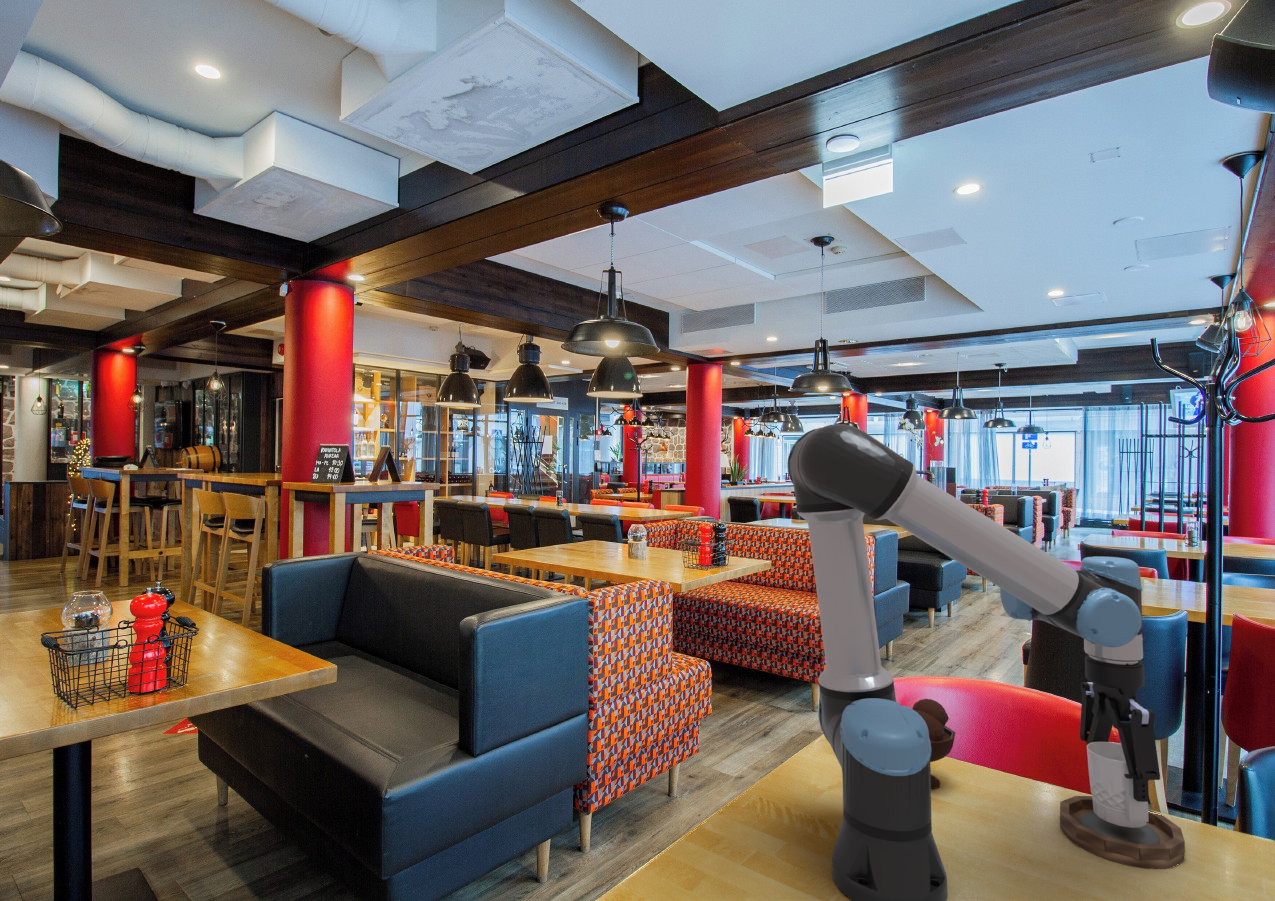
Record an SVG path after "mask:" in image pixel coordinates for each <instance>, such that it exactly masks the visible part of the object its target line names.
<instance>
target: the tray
mask: <svg viewBox="0 0 1275 901" xmlns="http://www.w3.org/2000/svg"><path fill="white" fill-rule="evenodd" d="M1059 806H1060V807H1059V828H1060V830H1061V832H1062V834H1064V836H1065V838H1067V839H1068V840H1069V841H1071V842H1072V843H1073V844H1075V845H1076V846H1078V847H1080V848H1081V849H1083V850H1084V851H1087V852H1089V853H1091V854H1093V855H1095V856H1097V857H1100V858H1102V859H1105V860H1108V861H1111V862H1114V863H1118V864H1122V865H1126V866H1129V867H1136V868H1141V869H1151V868H1153V869H1154V870H1156V869H1157V870H1162V868H1164V869H1170V868H1169V867H1171V868H1174V867H1173V866H1175V867H1177V866H1178V865H1177V864H1179V865H1181V864H1182V863H1183V862H1184V861H1185V858H1184V856H1185V853H1186V841H1185V838H1184V834H1183V830H1182V828H1181V827H1180V826H1179V825H1177V824H1176V823H1174V822H1173V821H1172V820H1170V819H1168V818H1167V817H1166V816H1165V815H1163V814H1161V815H1158V814H1160V813H1159V812H1156V811H1154V810H1151V809H1149V808H1148V811H1150V812H1154V813H1158V814H1153V813H1150V812H1148V817H1149V822H1146V825H1145V826H1143V827H1140V828H1129V827H1123V826H1118V825H1115V824H1112V823H1109V822H1107V821H1105V820H1103V819H1101V818H1099V817H1098V816H1097V815H1096V814H1095V813H1094V811H1093V799H1092V795H1074V796H1072V797H1068V798H1067V799H1063V800H1062V801H1060V805H1059ZM1162 815H1163V816H1162ZM1185 857H1186V856H1185ZM1183 860H1184V861H1183ZM1182 861H1183V862H1182ZM1181 862H1182V863H1181ZM1180 863H1181V864H1180ZM1176 865H1177V866H1176ZM1158 868H1160V869H1158ZM1153 869H1152V870H1153Z"/></svg>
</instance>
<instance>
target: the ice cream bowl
mask: <svg viewBox="0 0 1275 901" xmlns="http://www.w3.org/2000/svg"><path fill="white" fill-rule="evenodd" d="M911 709H913V710H914V711H916V712H917V713H918V714H919V715H920V716H921V717H922V718H923V719H924V721H925V722H926V724H927V727H928V731H929V738H930V742H931V744H930V745H931V756H930V763H934V762H937V761H940V760H942V759H944V758H945V757H947V756H948V755H949V754H950V753H951V751H952V749H953V748H954V747H953V746H954V742H955V735H956V732H955V731H954V730H953V729H951V728H949V727H948V726H946V724H947V723H948V721H949V719H950V717H949V716H948V713H947V711H946V709H945V708H944V707H943V705H942V704H941V703H939V702H938V701H937V700H934V699H932V698H923V699H920V700H918V701H916V702H914V704H913V706H912V707H911ZM939 788H941V781H940V780H939V779H938V778H937V777H935V776H934V775H932V774H931V791H932V790H936V789H939Z"/></svg>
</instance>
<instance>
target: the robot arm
mask: <svg viewBox="0 0 1275 901" xmlns="http://www.w3.org/2000/svg"><path fill="white" fill-rule="evenodd" d="M787 473H788V474H787V475H788V476H789V480H790V481H791V483H792V485H793V489H794V497H795V506H796V513H797V514H798V515H799V516H800V517H801V518H802V519H803V520H805V521H806V522H807V525H808V526H807V527H808V533H809V534H808V535H809V541H810V542H809V543H810V549H811V557H812V565H813V571H814V572H813V574H814V580H815V581H814V582H815V588H816V589H815V590H816V596H817V597H816V598H817V605H818V613H819V619H820V620H819V621H820V626H821V635H822V644H823V652H824V653H823V654H824V658H825V659H824V660H825V666H826V667H825V668H824V670H823V671H822V672H821V673H820V675H819V676H818V688H819V703H818V710H817V711H818V712H817V713H818V714H817V715H818V722H819V726H820V729H821V732H822V733H823V735H824V737H825V740H826V741H828V743H829V745H830V747H831V749H832V751H833V753H834V755H835V757H836V759H837V762H838V764H839V766H840V767H841V776H842V808H843V811H842V813H843V815H842V817H843V818H842V821H841V826H840V827H839V830H838V834H837V838H836V840H835V844H834V845H833V846H834V847H833V850H832V853H831V875H832V877H831V878H832V879H833V883H834V884H835V886H836V887H837V888H838V889H839V890H840V891H841V893H843V894H844V896H846V898H848V899H850V900H851V901H947V899H948V878H947V877H948V876H947V873H946V869H945V866H944V864H943V861H942V858H941V855H940V852H939V849H938V846H937V844H936V840H935V837H934V835H933V832H932V831H933V830H932V829H933V828H932V827H933V826H932V790H931V775H932V774H931V772H932V770H931V762H930V756H931V745H930V744H931V742H930V738H929V731H928V727H927V724H926V722H925V721H924V719H923V718H922V717H921V716H920V715H919V714H918V713H917V712H916V711H914V710H913V709H912V707H910V706H908V705H902V704H901V702H899V701H897V697H896V691H895V690H896V689H895V688H896V687H895V682H894V677H893V674H891V672H889V671H888V670H887V669H886V668H884V667H883V666H882V660H881V652H880V644H879V638H878V629H877V620H876V613H875V604H874V598H873V590H872V582H871V573H870V567H869V566H870V565H869V558H868V552H867V543H866V534H865V527H864V516H865V515H867V516H868V517H870V518H872V519H873V520H874V521H882V520H888V521H889V522H891V523H893V524H895V525H896V526H898V527H900V528H901V529H902V530H904V531H906V532H908V533H910V534H911V535H913V536H914V537H916V538H918V539H919V540H921V541H922V542H924V543H926V544H928V545H929V546H930V547H932V548H934V549H936V550H938V551H939V552H940V553H942V554H944V555H945V556H947V557H949V558H951V559H952V560H954V561H955V562H956V563H959V564H961V565H962V566H964V567H965V568H967V569H968V570H970V571H972V572H974V573H975V574H977V575H979V576H980V577H981V578H984V579H985V580H987V582H990V583H991V584H994V585H995V586H996V587H998V588H999V594H1000V595H999V596H1000V600H1001V605H1002V607H1003V609H1004V611H1005V613H1006V615H1008V616H1009V618H1012V619H1014V620H1025V621H1028V622H1031V621H1034V620H1035V621H1043V622H1046V623H1048V624H1051V625H1052V626H1054V627H1057V628H1058V629H1059V628H1060V629H1062V630H1065V631H1067V632H1069V633H1072V634H1073V635H1075V636H1078V637H1080V638H1082V639H1083V651H1084V652H1085V654H1087V655H1086V656H1085V657H1084V670H1085V672H1084V676H1085V678H1086V679H1087V680H1088V681H1083V682H1080V690H1081V707H1080V708H1081V709H1080V723H1079V725H1080V726H1079V738H1080V741H1082V742H1085V743H1086V746H1087V745H1088V744H1089V743H1092V742H1110V741H1109V740H1110V736H1111V733H1112V729H1113V728H1115V729H1116V730H1117V734H1118V737H1119V740H1120V744H1121V745H1122V749H1123V753H1124V756H1125V760H1126V764H1127V768H1128V772H1129V774H1124V776H1125V795H1126V819H1127V820H1129V821H1132V822H1149V817H1148V809H1149V799H1150V797H1149V796H1150V795H1149V790H1150V789H1149V790H1148V781H1159V780H1161V772H1160V766H1159V758H1158V750H1157V742H1156V737H1155V736H1156V735H1155V731H1154V730H1155V729H1154V722H1155V712H1154V710H1153V709H1151V708H1147V709H1146V708H1144V707H1143V706H1141V705H1140V701H1139V698H1138V695H1137V694H1138V693H1137V692H1138V691H1139V689H1142V688H1143V687H1144V686H1145V664H1144V663H1143V662H1142V661H1141V660H1143V658H1144V649H1143V646H1144V645H1143V641H1144V638H1143V609H1142V608H1143V607H1142V605H1143V603H1142V601H1143V600H1142V592H1143V587H1142V581H1141V578H1142V577H1141V573H1140V567H1139V565H1138V563H1137V562H1135V561H1134V560H1131V559H1129V558H1125V557H1117V556H1087V557H1084V558H1083V559H1082V560H1081V565H1080V568H1079V570H1075V569H1074V568H1072V567H1070V565H1067V564H1066V563H1065V562H1063V561H1061V560H1059V559H1058V558H1056V557H1055V556H1053V555H1051V554H1049V553H1048V552H1046V551H1045V550H1043V549H1041V548H1039V547H1037V546H1036V545H1034V544H1033V543H1031V542H1029V541H1028V540H1026V539H1024V538H1023V537H1021V536H1019V535H1018V534H1017V533H1015V532H1013V531H1011V530H1009V529H1008V528H1007V527H1005V526H1003V525H1001V524H1000V523H998V522H996V521H995V520H993V519H991V518H990V517H988V516H987V515H985V514H984V513H982V512H980V511H978V510H977V509H975V508H973V507H971V506H970V505H968V504H967V503H965V502H963V501H961V500H960V499H959V498H957V497H955V496H953V495H952V494H950V493H948V492H947V491H945V490H944V489H942V488H940V487H938V486H936V485H935V484H934V483H932V482H930V481H928V480H927V479H925V478H924V477H922V476H920V475H919V474H918V473H917V470H916V465H915V464H914V463H913V462H911V461H910V460H908V459H906V458H905V457H903V456H902V455H900V454H898V453H897V452H895V451H894V450H893V449H891V448H889V447H888V446H886V445H885V444H883V443H882V442H881V441H879V440H878V439H876V438H875V437H873V436H872V435H870V434H868V432H865V431H863V430H861V429H860V428H858V427H856V426H853V425H849V424H844V423H834V424H829V425H825V426H823V427H818V428H813V429H811V430H808V431H807V432H805V433H804V434H802V435H801V436H799V438H797V439H796V441H795V442H794V443H793V445H792V447H791V449H790V451H789V454H788V457H787ZM1136 768H1137V770H1136Z"/></svg>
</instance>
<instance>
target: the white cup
mask: <svg viewBox="0 0 1275 901" xmlns="http://www.w3.org/2000/svg"><path fill="white" fill-rule="evenodd" d="M1086 752H1087V754H1086V756H1087V766H1088V776H1089V786H1090V793H1091V796H1092V799H1093V811H1094V813H1095V814H1096V815H1097V816H1098V817H1099V818H1101V819H1103V820H1105V821H1107V822H1109V823H1112V824H1115V825H1118V826H1123V827H1129V828H1140V827H1143V826H1145V825H1146V822H1132V821H1129V820H1127V819H1126V795H1125V776H1124V774H1129V772H1128V768H1127V764H1126V760H1125V756H1124V753H1123V749H1122V745H1121V743H1120V742H1119V743H1118V742H1113V741H1108V742H1092V743H1089V744H1088V745H1087V744H1086ZM1136 770H1137V768H1136ZM1149 781H1150V780H1149ZM1149 781H1148V790H1150V789H1149V785H1150V784H1149V783H1150V782H1149Z"/></svg>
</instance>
